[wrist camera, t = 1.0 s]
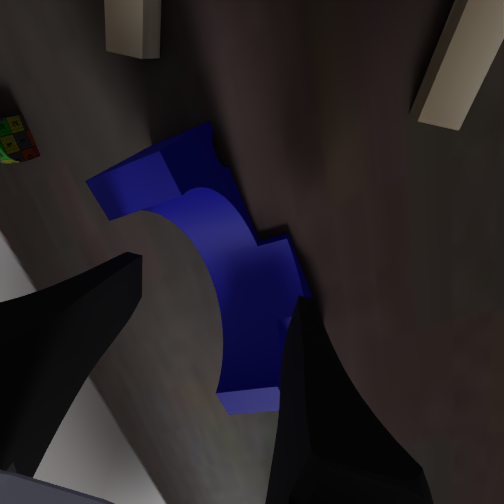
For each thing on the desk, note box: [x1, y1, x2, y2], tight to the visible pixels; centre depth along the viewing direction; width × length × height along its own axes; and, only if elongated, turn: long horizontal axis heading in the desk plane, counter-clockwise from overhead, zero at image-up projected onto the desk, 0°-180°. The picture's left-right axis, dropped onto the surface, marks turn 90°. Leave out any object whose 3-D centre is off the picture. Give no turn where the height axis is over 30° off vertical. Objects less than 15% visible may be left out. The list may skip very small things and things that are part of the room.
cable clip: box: [85, 121, 312, 415], centre depth 16 cm, size 12×4×6 cm, turn 22°
